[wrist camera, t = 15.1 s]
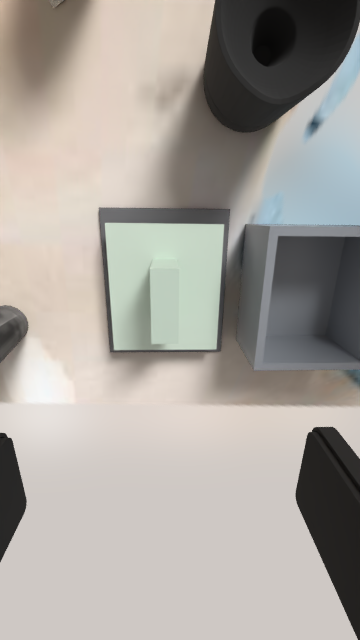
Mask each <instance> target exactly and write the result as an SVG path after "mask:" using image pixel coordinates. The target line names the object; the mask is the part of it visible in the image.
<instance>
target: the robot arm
mask: <svg viewBox="0 0 360 640" xmlns="http://www.w3.org/2000/svg"><path fill="white" fill-rule="evenodd" d="M296 501H297V504H298V507H299V509H300V511H301V513H302V516H303V518H304V520H305V523H306V525H307V527H308V529H309V532H310V534H311V536H312V538H313V540H314V543H315V545H316V547H317V549H318V552H319V554H320V556H321V558H322V561H323V563H324V565H325V567H326V569H327V572H328V574H329V576H330V578H331V581H332V583H333V585H334V587H335V589H336V592H337V594H338V596H339V598H340V600H341V603H342V605H343V607H344V610H345V612H346V614H347V616H348V618H349V621H350V623H351V625H352V627H353V629H354V632H355V634H356V636H357V638H358V640H360V459H359V458H358V456H357V455H356V454H355V453H354V451H353V450H352V449H351V447H350V446H349V445H348V444H347V442H346V441H345V440H344V439H343V437H342V436H341V435H340V434H339V432H338V431H337V430H336V429H335V428H333V427H315V428H314V429H313V430H312V432H309V433H308V435H307V439H306V445H305V449H304V454H303V459H302V464H301V469H300V474H299V479H298V483H297V488H296ZM25 509H26V496H25V492H24V487H23V483H22V479H21V475H20V471H19V466H18V462H17V458H16V454H15V450H14V445H13V441H12V439H11V438H8V437H7V435H6V434H5V433H0V562H1V560H2V557H3V555H4V553H5V551H6V549H7V547H8V545H9V543H10V541H11V539H12V537H13V535H14V533H15V531H16V529H17V527H18V525H19V522H20V520H21V519H22V516H23V514H24V512H25Z"/></svg>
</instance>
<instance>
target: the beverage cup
mask: <svg viewBox="0 0 360 640" xmlns="http://www.w3.org/2000/svg"><path fill="white" fill-rule="evenodd" d="M27 330H28V321H27V319H26V317H25V315H24V314H23V313H22V312H21V311H20V310H18V309H17V308H14V307H12V306H6V305H5V306H0V363H1V362H2V360H3V359H4V358H5V357H6V356H7V355H8V354H9V353H10V352H11V351H12V349H13V348H14V347H15V346H16V345H17V344H18V343H19V342H20V340H21V339H22V337H23V336H24V335H25V334H26V333H27Z"/></svg>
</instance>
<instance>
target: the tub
mask: <svg viewBox="0 0 360 640" xmlns="http://www.w3.org/2000/svg"><path fill="white" fill-rule="evenodd" d="M236 340H237V342H238V343H239V345H240V347H241V349H242V351H243V352H244V354H245V356H246V358H247V359H248V361H249V363H250V365H251V367H252V368H253V370H254V371H262V370H356V369H360V226H355V225H354V226H353V225H279V224H246V228H245V240H244V251H243V263H242V275H241V287H240V298H239V310H238V322H237V334H236Z"/></svg>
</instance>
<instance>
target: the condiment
mask: <svg viewBox="0 0 360 640" xmlns="http://www.w3.org/2000/svg"><path fill="white" fill-rule="evenodd" d="M62 1H64V0H49V2H50V3H51V5H52V7H53V8H55V7H56V6H57V5H59V4H60V3H61V2H62Z"/></svg>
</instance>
